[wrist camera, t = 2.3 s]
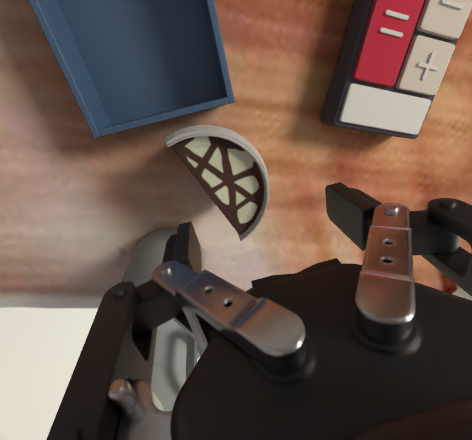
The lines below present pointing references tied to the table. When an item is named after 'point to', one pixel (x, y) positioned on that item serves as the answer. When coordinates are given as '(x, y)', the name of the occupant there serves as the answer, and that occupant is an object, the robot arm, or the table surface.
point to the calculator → (393, 64)
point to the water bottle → (168, 334)
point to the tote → (137, 58)
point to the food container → (226, 172)
